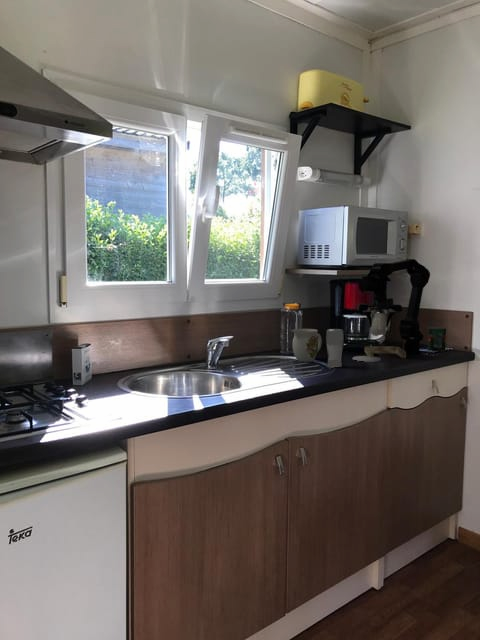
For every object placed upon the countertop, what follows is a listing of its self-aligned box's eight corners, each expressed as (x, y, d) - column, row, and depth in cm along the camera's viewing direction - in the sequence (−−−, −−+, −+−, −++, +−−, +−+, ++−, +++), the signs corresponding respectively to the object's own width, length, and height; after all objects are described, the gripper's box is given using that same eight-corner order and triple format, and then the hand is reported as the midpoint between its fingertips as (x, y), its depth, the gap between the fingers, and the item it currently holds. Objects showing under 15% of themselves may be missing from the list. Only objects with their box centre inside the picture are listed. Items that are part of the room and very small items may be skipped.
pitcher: (330, 359, 239) (330, 328, 237) (301, 364, 227) (302, 331, 226) (311, 356, 247) (311, 325, 245) (282, 361, 235) (283, 329, 234)
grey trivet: (377, 357, 244) (377, 356, 244) (383, 362, 232) (383, 360, 232) (350, 357, 244) (350, 355, 244) (355, 362, 232) (355, 360, 232)
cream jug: (369, 332, 246) (370, 312, 245) (384, 333, 246) (385, 313, 245) (373, 335, 237) (374, 314, 236) (388, 335, 237) (389, 314, 236)
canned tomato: (424, 349, 265) (425, 326, 264) (439, 348, 267) (439, 326, 266) (434, 352, 258) (435, 328, 256) (448, 351, 259) (449, 328, 258)
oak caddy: (397, 353, 255) (398, 346, 255) (405, 358, 241) (406, 351, 240) (364, 352, 255) (364, 346, 255) (370, 358, 241) (370, 351, 241)
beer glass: (336, 364, 227) (336, 328, 226) (346, 367, 221) (347, 330, 220) (322, 365, 224) (322, 329, 223) (332, 368, 218) (333, 331, 216)
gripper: (361, 292, 233) (360, 328, 235) (406, 293, 233) (404, 329, 234) (357, 291, 244) (356, 326, 246) (399, 291, 244) (398, 326, 245)
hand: (378, 327), depth 243 cm, fingers closed on cream jug, 7 cm apart
